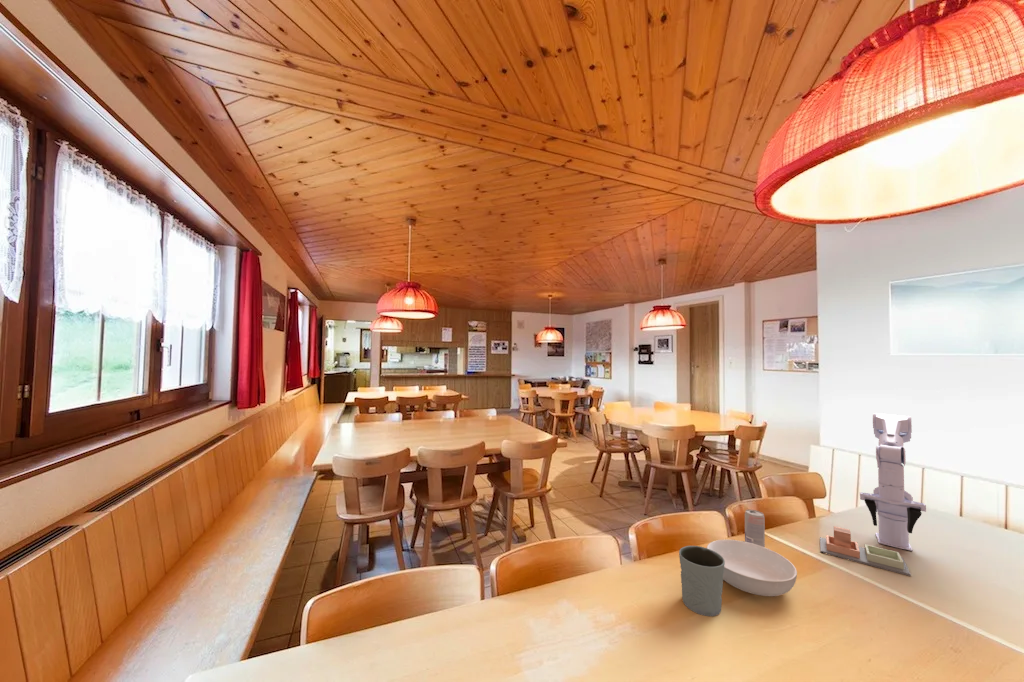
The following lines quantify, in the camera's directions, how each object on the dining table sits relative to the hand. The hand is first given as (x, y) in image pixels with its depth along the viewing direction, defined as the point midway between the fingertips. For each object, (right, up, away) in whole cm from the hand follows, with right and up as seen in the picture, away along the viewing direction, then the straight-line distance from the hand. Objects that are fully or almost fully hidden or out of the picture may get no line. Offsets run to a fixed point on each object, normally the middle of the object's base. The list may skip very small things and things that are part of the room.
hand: (892, 528), depth 118 cm
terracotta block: (-12, -9, +4) cm, 15 cm away
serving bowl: (-54, -8, -15) cm, 57 cm away
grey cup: (-72, -7, -25) cm, 77 cm away
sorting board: (-9, -9, +1) cm, 13 cm away
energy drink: (-41, -9, +3) cm, 42 cm away
